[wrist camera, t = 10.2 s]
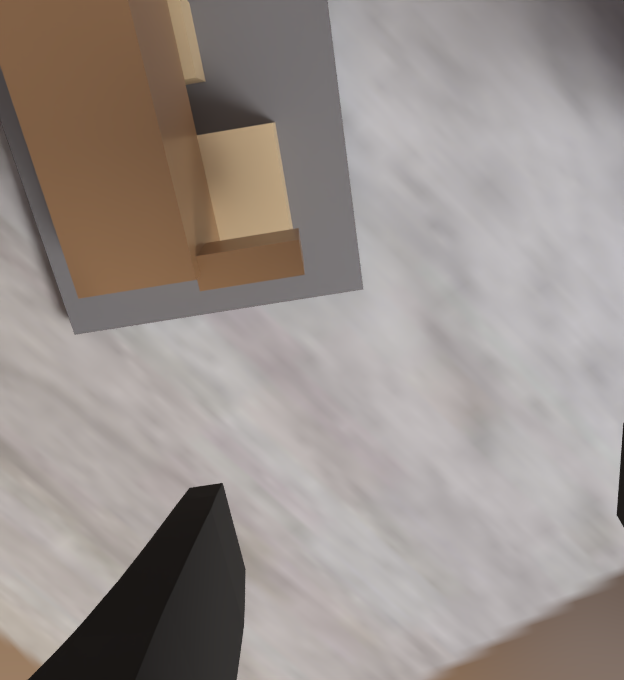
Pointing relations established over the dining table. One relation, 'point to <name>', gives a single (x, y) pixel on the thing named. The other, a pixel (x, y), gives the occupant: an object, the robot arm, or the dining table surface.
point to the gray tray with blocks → (240, 157)
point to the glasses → (123, 149)
